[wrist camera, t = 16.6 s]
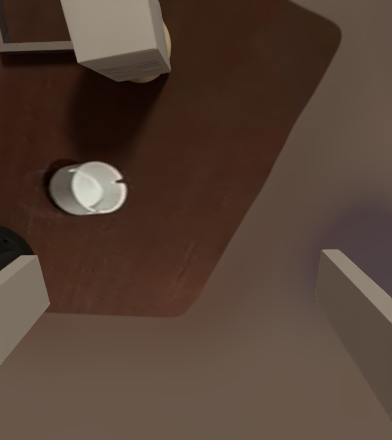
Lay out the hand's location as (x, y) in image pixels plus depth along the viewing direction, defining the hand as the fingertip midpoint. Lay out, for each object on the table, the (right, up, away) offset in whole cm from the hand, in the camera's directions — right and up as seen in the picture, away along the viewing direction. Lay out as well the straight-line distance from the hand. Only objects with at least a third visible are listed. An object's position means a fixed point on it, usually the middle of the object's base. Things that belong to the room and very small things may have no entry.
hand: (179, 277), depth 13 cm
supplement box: (-8, +29, +28) cm, 41 cm away
